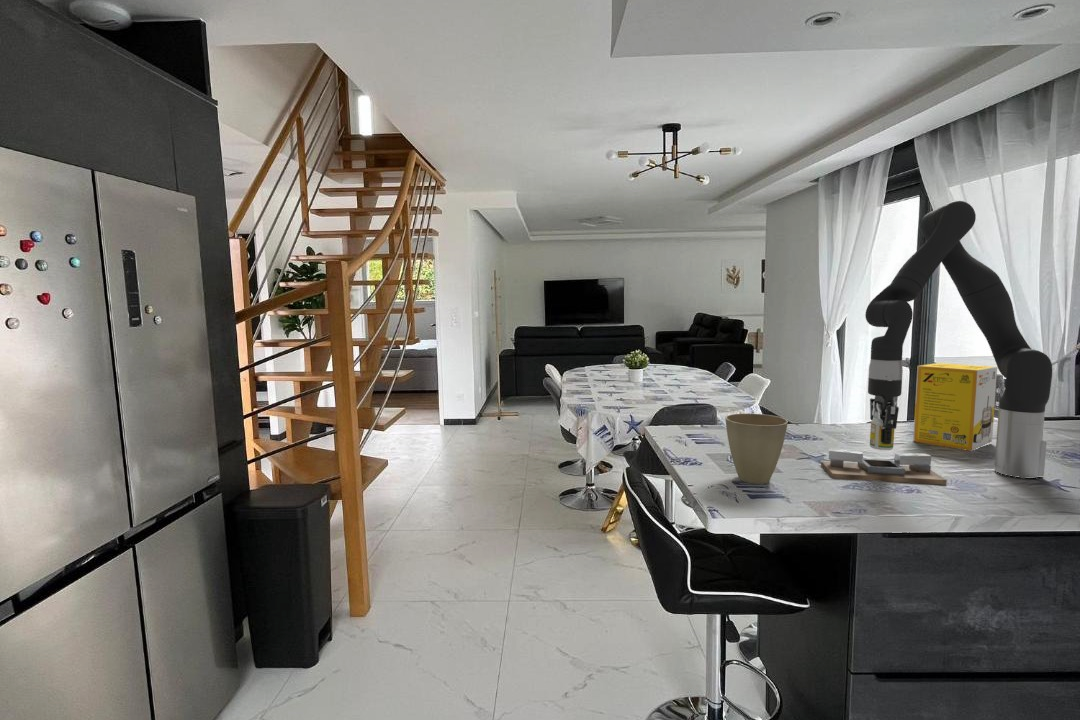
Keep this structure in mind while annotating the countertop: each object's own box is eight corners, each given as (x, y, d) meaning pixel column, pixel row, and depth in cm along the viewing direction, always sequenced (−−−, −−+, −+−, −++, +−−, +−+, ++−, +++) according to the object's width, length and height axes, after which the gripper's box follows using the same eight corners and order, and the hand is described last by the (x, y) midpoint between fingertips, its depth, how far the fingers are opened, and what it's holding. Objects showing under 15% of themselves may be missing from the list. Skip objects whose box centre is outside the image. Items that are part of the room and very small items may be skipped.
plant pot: (711, 475, 151) (713, 415, 150) (756, 469, 156) (758, 411, 155) (750, 492, 137) (753, 426, 136) (799, 485, 142) (801, 422, 141)
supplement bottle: (865, 447, 151) (867, 411, 150) (876, 444, 154) (877, 409, 153) (887, 451, 147) (889, 414, 146) (897, 448, 149) (899, 412, 149)
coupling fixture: (925, 468, 152) (926, 452, 152) (939, 477, 144) (941, 461, 143) (825, 463, 158) (826, 448, 157) (834, 471, 149) (834, 456, 149)
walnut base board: (925, 471, 154) (926, 466, 154) (946, 484, 142) (946, 480, 142) (820, 465, 160) (821, 461, 159) (832, 478, 148) (832, 473, 148)
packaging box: (934, 435, 197) (939, 362, 194) (991, 444, 183) (997, 366, 181) (913, 441, 188) (917, 365, 185) (971, 451, 174) (977, 370, 172)
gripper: (860, 373, 156) (857, 434, 158) (878, 380, 142) (875, 446, 144) (891, 374, 155) (887, 435, 156) (912, 380, 141) (908, 448, 142)
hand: (881, 440), depth 150 cm, fingers closed on supplement bottle, 5 cm apart
